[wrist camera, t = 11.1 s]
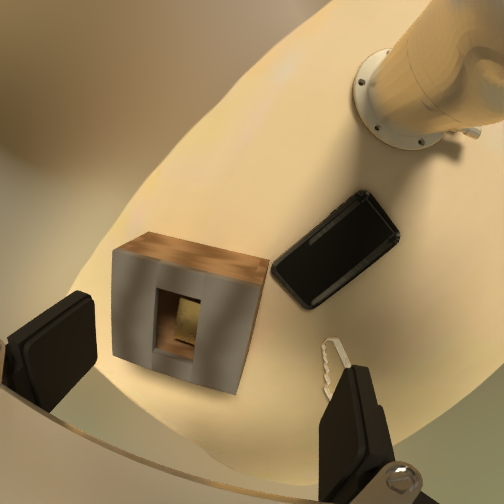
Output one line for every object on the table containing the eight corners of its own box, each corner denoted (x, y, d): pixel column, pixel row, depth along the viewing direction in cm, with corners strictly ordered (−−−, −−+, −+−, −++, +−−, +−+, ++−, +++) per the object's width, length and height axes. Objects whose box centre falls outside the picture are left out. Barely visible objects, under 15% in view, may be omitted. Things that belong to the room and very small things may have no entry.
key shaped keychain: (302, 343, 43) (302, 349, 41) (336, 329, 41) (337, 335, 40) (335, 406, 44) (336, 413, 43) (365, 395, 43) (367, 402, 41)
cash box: (269, 260, 39) (260, 288, 30) (247, 353, 43) (235, 394, 34) (148, 231, 40) (112, 250, 32) (142, 323, 44) (112, 355, 36)
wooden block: (211, 293, 41) (203, 305, 37) (202, 331, 42) (195, 345, 39) (189, 286, 41) (180, 297, 38) (182, 324, 43) (173, 337, 39)
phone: (403, 238, 35) (308, 313, 39) (401, 235, 36) (308, 309, 40) (364, 185, 34) (266, 267, 38) (362, 185, 35) (267, 264, 39)
